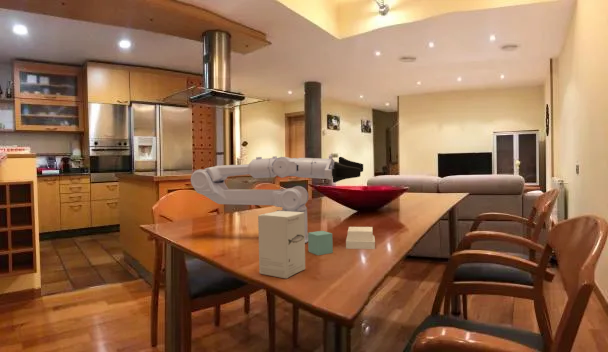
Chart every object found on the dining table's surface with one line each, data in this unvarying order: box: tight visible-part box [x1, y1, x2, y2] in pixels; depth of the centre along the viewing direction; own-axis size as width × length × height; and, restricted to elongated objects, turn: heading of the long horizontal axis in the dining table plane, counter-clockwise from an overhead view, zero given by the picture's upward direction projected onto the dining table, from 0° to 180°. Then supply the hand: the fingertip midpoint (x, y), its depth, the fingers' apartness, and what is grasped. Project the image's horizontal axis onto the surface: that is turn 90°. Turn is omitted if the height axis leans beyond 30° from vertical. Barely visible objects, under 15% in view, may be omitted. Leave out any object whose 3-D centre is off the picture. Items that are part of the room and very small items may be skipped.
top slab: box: [347, 226, 374, 241], centre depth 102 cm, size 6×6×2 cm
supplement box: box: [257, 210, 306, 280], centre depth 80 cm, size 7×7×13 cm
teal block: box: [307, 230, 334, 256], centre depth 96 cm, size 4×4×5 cm
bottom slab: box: [345, 234, 376, 250], centre depth 102 cm, size 8×8×2 cm
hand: (361, 170), depth 104 cm, fingers open, 7 cm apart
